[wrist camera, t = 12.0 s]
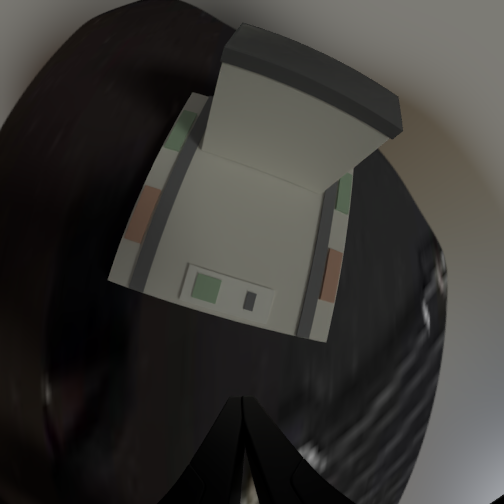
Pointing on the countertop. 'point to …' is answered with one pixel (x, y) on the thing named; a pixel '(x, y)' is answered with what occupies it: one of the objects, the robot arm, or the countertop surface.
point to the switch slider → (295, 110)
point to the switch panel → (234, 237)
